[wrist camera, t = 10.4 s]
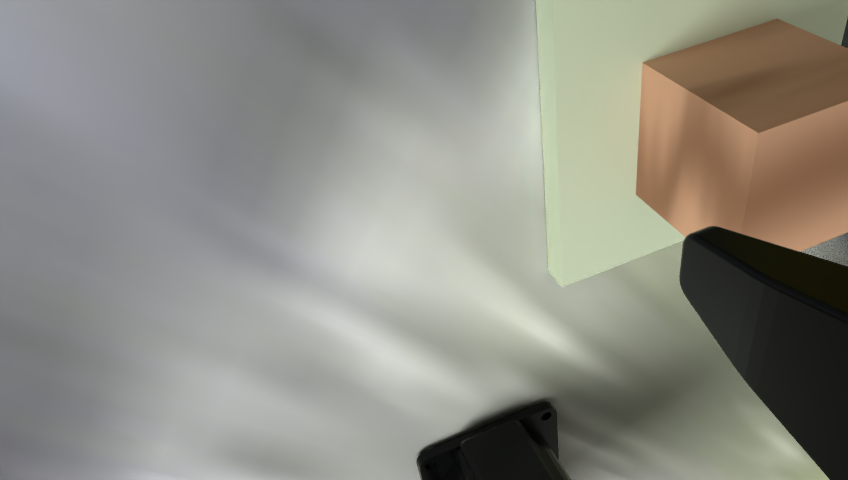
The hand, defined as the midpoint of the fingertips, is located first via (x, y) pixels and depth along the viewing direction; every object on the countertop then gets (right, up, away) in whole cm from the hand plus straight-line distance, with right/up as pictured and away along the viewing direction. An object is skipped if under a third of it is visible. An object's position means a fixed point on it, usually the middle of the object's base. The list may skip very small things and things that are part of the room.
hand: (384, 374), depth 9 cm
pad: (+10, +7, +16) cm, 19 cm away
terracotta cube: (+10, +6, +15) cm, 19 cm away
